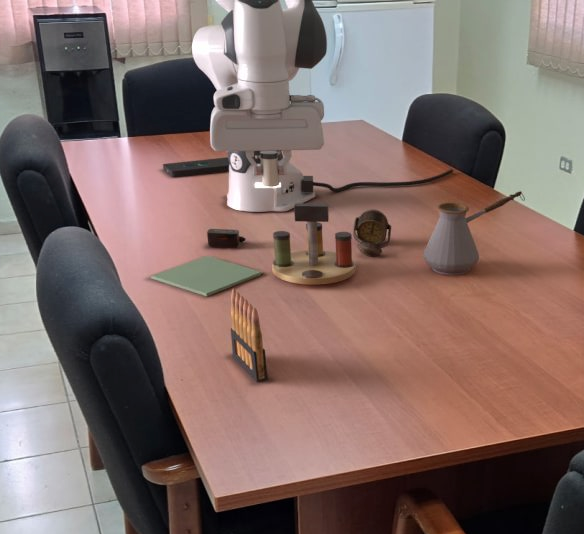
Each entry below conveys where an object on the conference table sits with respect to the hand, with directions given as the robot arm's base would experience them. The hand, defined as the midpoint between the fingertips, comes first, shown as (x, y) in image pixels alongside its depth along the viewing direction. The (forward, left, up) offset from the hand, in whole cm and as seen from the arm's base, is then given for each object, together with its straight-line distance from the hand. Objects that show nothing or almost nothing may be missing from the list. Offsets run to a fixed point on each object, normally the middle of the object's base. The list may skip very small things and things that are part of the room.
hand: (270, 174), depth 174 cm
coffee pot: (-31, +26, -21) cm, 46 cm away
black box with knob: (-10, -22, -21) cm, 32 cm away
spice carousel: (-7, +3, -21) cm, 22 cm away
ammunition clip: (+32, +23, -21) cm, 44 cm away
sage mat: (+7, -12, -21) cm, 25 cm away
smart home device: (-49, -70, -21) cm, 88 cm away
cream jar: (0, 0, -2) cm, 2 cm away
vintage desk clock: (-28, +2, -21) cm, 35 cm away
